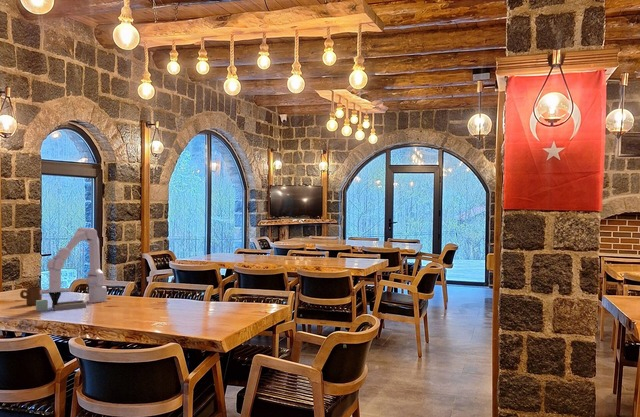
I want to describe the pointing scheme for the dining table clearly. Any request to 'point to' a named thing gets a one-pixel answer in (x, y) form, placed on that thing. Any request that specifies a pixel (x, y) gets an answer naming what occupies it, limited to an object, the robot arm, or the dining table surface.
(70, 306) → the chute
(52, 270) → the robot arm
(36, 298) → the mug
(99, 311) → the dining table surface
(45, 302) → the block
